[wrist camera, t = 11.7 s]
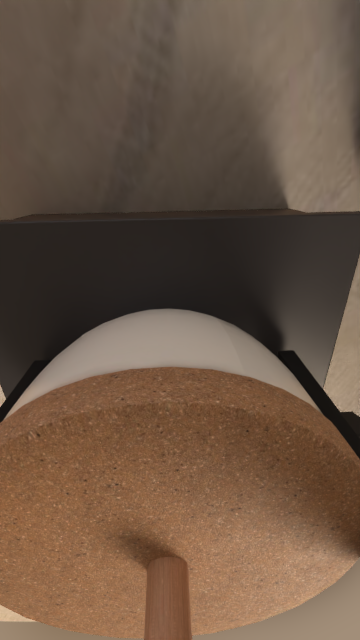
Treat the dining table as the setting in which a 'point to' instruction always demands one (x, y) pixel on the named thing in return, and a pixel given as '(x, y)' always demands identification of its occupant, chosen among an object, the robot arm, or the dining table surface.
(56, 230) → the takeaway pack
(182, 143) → the dining table surface
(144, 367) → the lidded bowl
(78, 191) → the dining table surface
